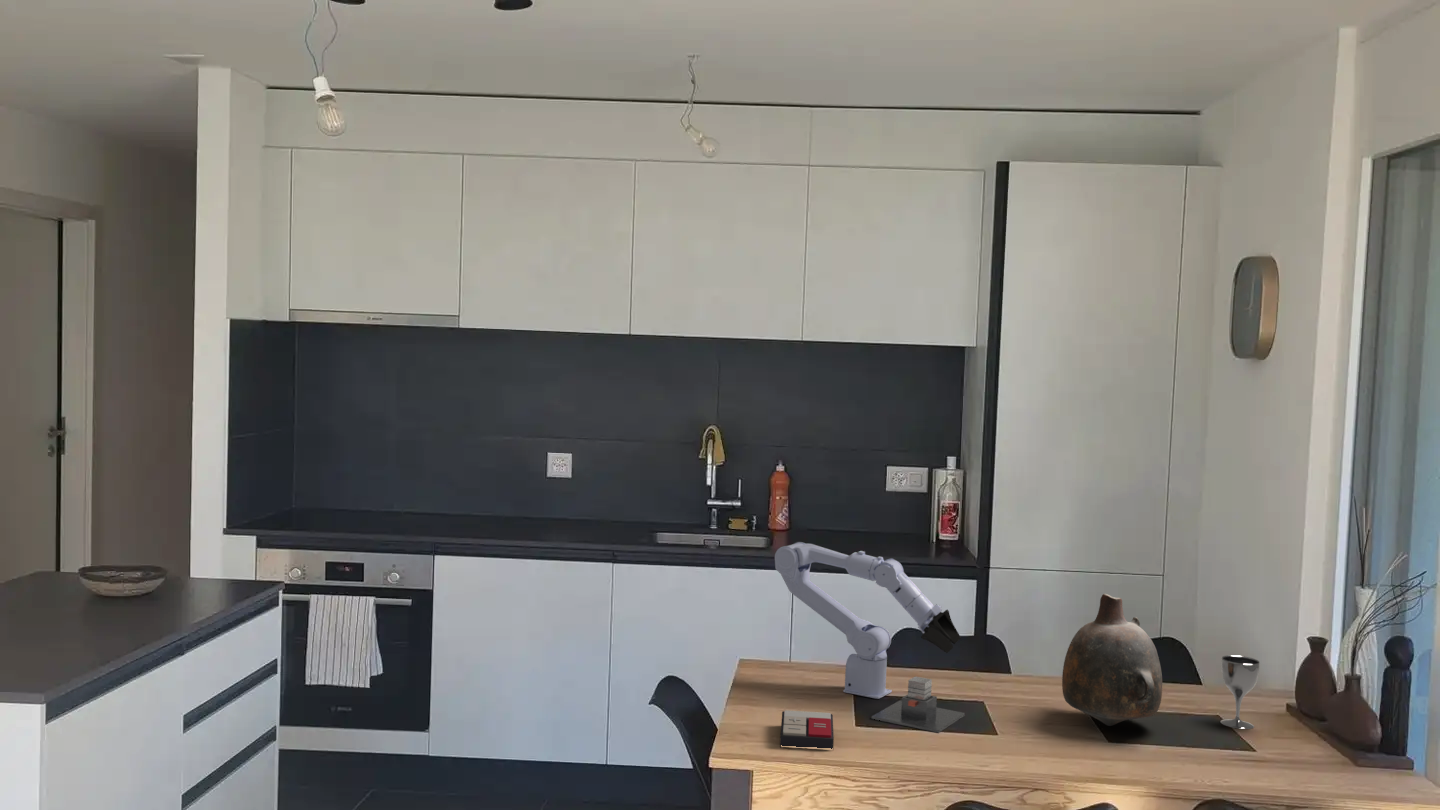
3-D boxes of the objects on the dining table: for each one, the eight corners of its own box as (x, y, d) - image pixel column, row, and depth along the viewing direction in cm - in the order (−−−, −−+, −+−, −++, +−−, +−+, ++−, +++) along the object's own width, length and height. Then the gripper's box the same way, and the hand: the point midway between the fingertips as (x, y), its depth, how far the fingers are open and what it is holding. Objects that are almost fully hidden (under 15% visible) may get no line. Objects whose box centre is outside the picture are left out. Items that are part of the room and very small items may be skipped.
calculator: (780, 732, 248) (782, 707, 263) (779, 752, 249) (781, 726, 264) (834, 735, 247) (832, 710, 262) (833, 755, 248) (832, 729, 263)
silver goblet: (1256, 722, 279) (1259, 658, 278) (1255, 731, 272) (1259, 665, 271) (1219, 716, 282) (1222, 653, 282) (1217, 725, 275) (1221, 660, 274)
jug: (1181, 728, 272) (1188, 596, 271) (1141, 748, 256) (1148, 609, 255) (1080, 704, 289) (1086, 580, 287) (1036, 721, 273) (1043, 590, 272)
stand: (871, 718, 271) (872, 698, 270) (899, 702, 284) (900, 683, 284) (938, 732, 262) (939, 712, 262) (964, 715, 276) (965, 695, 276)
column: (906, 715, 273) (908, 680, 272) (913, 710, 276) (915, 676, 276) (923, 718, 270) (925, 683, 270) (930, 714, 274) (932, 679, 274)
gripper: (932, 581, 281) (973, 626, 276) (920, 601, 294) (958, 644, 289) (910, 599, 278) (951, 645, 274) (899, 618, 291) (937, 662, 287)
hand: (953, 645), depth 281 cm, fingers open, 7 cm apart
